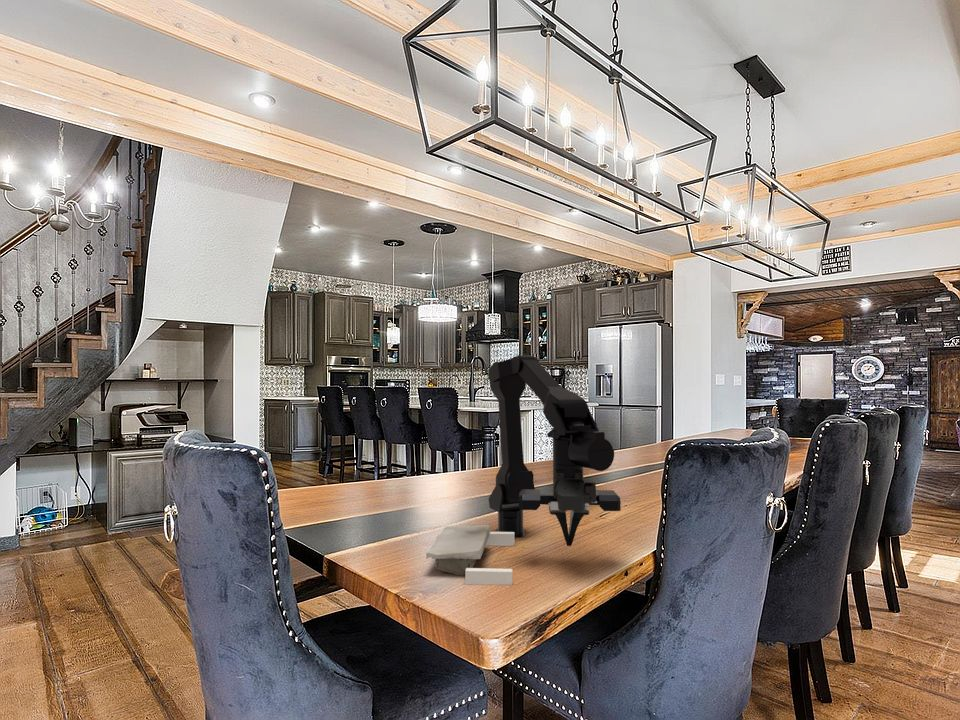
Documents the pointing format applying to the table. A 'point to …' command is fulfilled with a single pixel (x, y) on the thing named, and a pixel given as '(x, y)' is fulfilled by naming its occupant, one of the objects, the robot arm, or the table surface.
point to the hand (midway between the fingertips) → (568, 545)
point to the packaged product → (459, 547)
